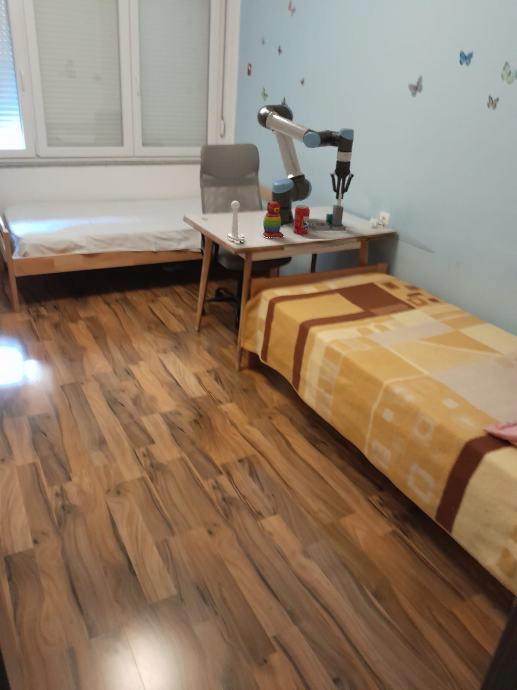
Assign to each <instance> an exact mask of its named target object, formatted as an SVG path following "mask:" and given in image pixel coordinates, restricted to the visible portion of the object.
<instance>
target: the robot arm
mask: <svg viewBox="0 0 517 690" xmlns="http://www.w3.org/2000/svg"><path fill="white" fill-rule="evenodd" d="M256 119H257V122H258V124H259V125H260V126H261V127H262V128H264V129H266V130H268V131H271V133H272V134H273V135H275V138H276V140H277V141H276V142H277V144H278V149H279V152H280V156H281V160H282V164H283V167H284V172H285V174H286V178H279V179H276V180H274V181H273V182H272V187H271V202H276V201H278V203H279V206H280V211H279V212H278V213H279V214H280V218H281V226H284V225H290V224H294V214H293V209H292V207H293V206H292V205H293V203H295V202H301V201H304V200H307V199H308V198H309V197H310V196H311V194H312V191H313V190H312V189H313V186H312V183H311V181H310V180H309V179H307V178H306V176H305V173H303V172H302V171H301V167H300V163H299V159H298V156H297V152H296V148H295V144H294V140H296V141H298V142H301V143H303V144H304V145H305V147H306V148H308V149H315V148H324V147H326V148H327V147H333V148H337V153H336V161H335V169H334V171H333V172H330V174H329V176H330V178H331V185H332V191H333V192H334V193H335V200H336V205H338V206H342V205H341V204H342V200H343V199H344V196H345V195H344V194H345V193H348V191H349V188H350V185H351V181H352V179H353V178H354V177H355V175H354V174H353V173H352V172H351V170H350V169H351V160H352V153H353V146H354V145H353V144H354V139H355V138H354V136H355V131H354V129H352V128H344V127H342V128H340V129H339V131H335V130H330V129H323V130H321V131H316V130H314V129H311V128H309V127H306V126H304V125H302V124H299V123H297V122H295V121H294V113H293V110H292V109H291V107H290V106H288V105H286V104H266V105H263V106H261V107H260V108H259V109H258V111H257V115H256ZM293 139H294V140H293ZM336 177H337V179H336ZM347 177H348V178H347ZM336 180H337V181H336Z"/></svg>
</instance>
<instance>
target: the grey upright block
mask: <svg viewBox="0 0 517 690" xmlns="http://www.w3.org/2000/svg"><path fill="white" fill-rule="evenodd" d="M332 214H333V215H332V224H331V225H332V226H341V225H342V224H343V214H344V206H342V205H341V206H338V205H337V204H336V205H335V204H334V205H333V206H332Z"/></svg>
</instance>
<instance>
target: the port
mask: <svg viewBox="0 0 517 690" xmlns="http://www.w3.org/2000/svg"><path fill="white" fill-rule="evenodd" d="M332 215H333V213H326V214H325V222H326V223H327V224H328V225H329V226H330V229H331V230H346V229H347V226H346V225H345V224H344V223H342V225H341V226H332V225H331V224H332ZM346 231H347V230H346Z"/></svg>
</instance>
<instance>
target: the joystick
mask: <svg viewBox="0 0 517 690" xmlns="http://www.w3.org/2000/svg"><path fill="white" fill-rule="evenodd" d="M230 207H231V209H232V224H231V232H230V233H227V238H228V237H229V238H231V239H233V240H236V241H244V242H245V235H244V234H239V224H238V222H239V218H238V217H239V215H238V211H239V209H240V207H241V203H240V201H238V200H233V201H232V202H231V203H230Z"/></svg>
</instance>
